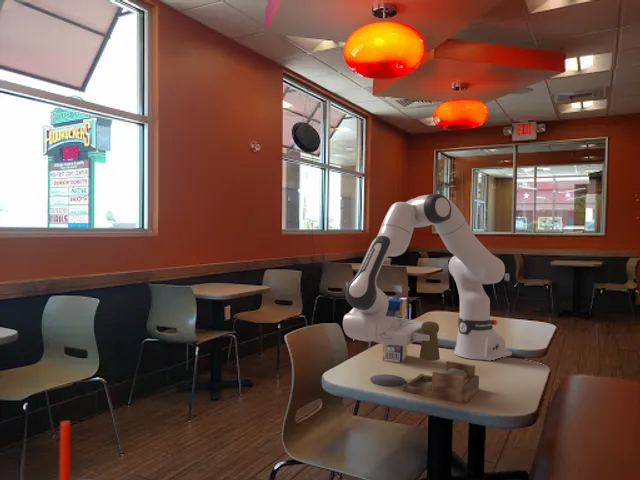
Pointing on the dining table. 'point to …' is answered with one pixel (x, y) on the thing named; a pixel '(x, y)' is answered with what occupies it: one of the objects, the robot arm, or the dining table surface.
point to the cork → (430, 342)
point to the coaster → (387, 380)
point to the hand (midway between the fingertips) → (432, 336)
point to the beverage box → (396, 309)
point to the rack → (448, 383)
